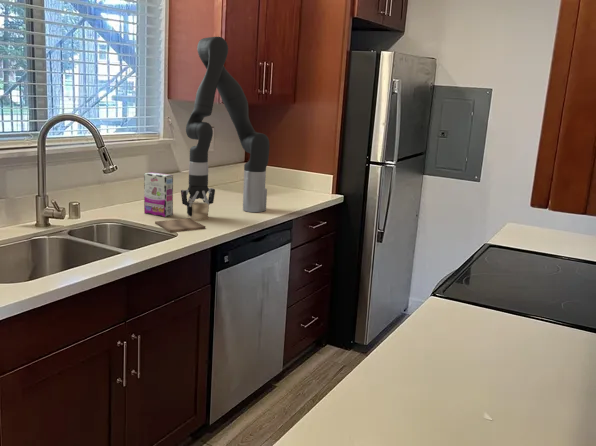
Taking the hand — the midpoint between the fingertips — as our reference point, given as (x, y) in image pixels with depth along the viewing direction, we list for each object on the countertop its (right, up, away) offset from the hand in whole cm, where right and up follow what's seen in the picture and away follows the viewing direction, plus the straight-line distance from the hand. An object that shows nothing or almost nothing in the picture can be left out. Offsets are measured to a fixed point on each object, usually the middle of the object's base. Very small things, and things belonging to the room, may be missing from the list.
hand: (197, 214), depth 234 cm
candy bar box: (-16, 0, +2) cm, 16 cm away
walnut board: (-4, -4, -14) cm, 16 cm away
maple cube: (0, -1, 0) cm, 1 cm away
